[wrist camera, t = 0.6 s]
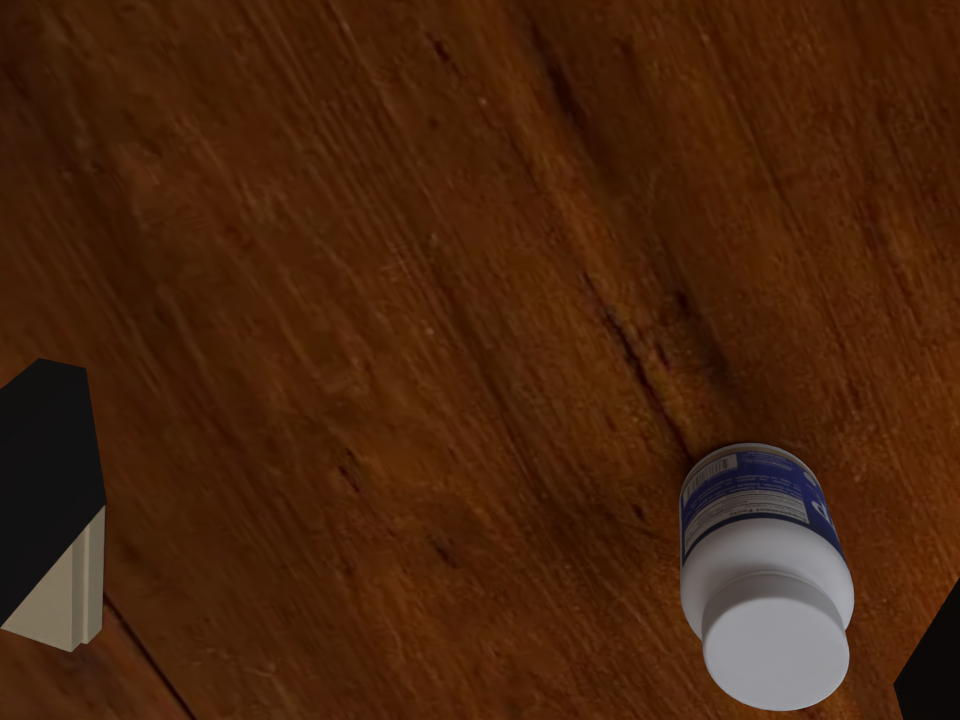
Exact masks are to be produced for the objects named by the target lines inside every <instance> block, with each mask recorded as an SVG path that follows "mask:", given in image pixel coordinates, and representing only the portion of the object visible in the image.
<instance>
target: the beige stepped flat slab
mask: <svg viewBox="0 0 960 720" xmlns="http://www.w3.org/2000/svg"><path fill="white" fill-rule="evenodd" d="M104 528H105V506H104V507H103V508H102V509H101V510H100V511H99V513H98V514H97V515H96V516H95V517H94V518H93V520H92V521H91V522H90V523H89V524H88V525H87V527H86V528H85V529H84V530H83V531H82V533H81V534H80V535H79V536H78V537H77V538H76V540H75V541H74V542H73V543H72V544H71V545H70V547H69V548H68V549H67V550H66V551H65V553H64V554H63V555H62V556H61V557H60V558H59V560H58V561H57V562H56V563H55V564H54V565H53V567H52V568H51V569H50V570H49V571H48V572H47V574H46V575H45V576H44V577H43V578H42V580H41V581H40V582H39V583H38V584H37V585H36V587H35V588H34V589H33V590H32V591H31V592H30V594H29V595H28V596H27V597H26V598H25V599H24V601H23V602H22V603H21V604H20V605H19V607H18V608H17V609H16V610H15V611H14V612H13V614H12V615H11V616H10V617H9V618H8V619H7V621H6V622H5V623H4V624H3V625H2V627H1V629H4V630H7V631H10V632H13V633H16V634H19V635H22V636H25V637H28V638H30V639H33V640H36V641H39V642H42V643H45V644H48V645H51V646H54V647H57V648H60V649H63V650H65V651H68V652H72V651H73V650H74V649H75V648H76V647H77V646H78V645H79V644H80V643H84V644H88V643H89V642H90V641H91V640H92V639H93V638H94V637H95V635H96V634H97V633H98V632H99V631H100V630H101V629H102V604H103V566H104Z"/></svg>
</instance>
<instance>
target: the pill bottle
mask: <svg viewBox="0 0 960 720" xmlns="http://www.w3.org/2000/svg"><path fill="white" fill-rule="evenodd" d="M679 521H680V594H681V602H682V607H683V611H684V614H685V616H686V619H687V621H688V623H689V625H690V626H691V628H692V630H693V631H694V632H695V634H696V635H697V636H698V637H699V639H700V640H701V641H702V647H703V655H704V660H705V664H706V667H707V669H708V671H709V673H710V675H711V677H712V678H713V679H714V681H715V682H716V683H717V684H718V685H719V687H720V688H721V689H722V690H724V691H725V692H726V693H727V694H729V695H730V696H731V697H733V698H735V699H736V700H738V701H740V702H742V703H744V704H747V705H750V706H752V707H756V708H760V709H765V710H773V711H788V710H796V709H801V708H805V707H808V706H811V705H813V704H816V703H818V702H820V701H821V700H823V699H825V698H826V697H828V696H829V695H830V694H832V693H833V692H834V691H835V690H836V689H837V687H838V686H839V685H840V684H841V682H842V681H843V679H844V677H845V675H846V672H847V669H848V664H849V648H848V643H847V639H846V634H845V630H846V628H847V626H848V624H849V621H850V619H851V615H852V612H853V606H854V590H853V584H852V580H851V576H850V572H849V569H848V566H847V563H846V560H845V558H844V555H843V552H842V549H841V546H840V543H839V540H838V537H837V534H836V531H835V528H834V525H833V522H832V519H831V516H830V514H829V510H828V507H827V504H826V501H825V498H824V495H823V492H822V489H821V487H820V485H819V482H818V481H817V479H816V477H815V476H814V474H813V473H812V471H811V470H810V469H809V468H808V467H807V466H806V465H805V464H804V463H803V462H802V461H801V460H799V459H798V458H797V457H795V456H794V455H792V454H790V453H789V452H787V451H785V450H782V449H780V448H777V447H774V446H770V445H766V444H759V443H741V444H734V445H730V446H726V447H723V448H721V449H718V450H716V451H714V452H712V453H710V454H709V455H707V456H706V457H704V458H703V459H701V460H700V461H699V462H698V463H697V464H696V465H695V466H694V467H693V468H692V470H691V471H690V472H689V474H688V475H687V477H686V479H685V481H684V483H683V486H682V489H681V493H680V499H679Z"/></svg>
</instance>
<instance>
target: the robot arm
mask: <svg viewBox="0 0 960 720" xmlns="http://www.w3.org/2000/svg"><path fill="white" fill-rule="evenodd" d="M106 503H107V501H106V495H105V489H104V482H103V476H102V469H101V463H100V457H99V450H98V444H97V437H96V431H95V425H94V418H93V412H92V405H91V399H90V393H89V386H88V380H87V373H86V368H82V367H78V366H73V365H68V364H64V363H59V362H54V361H50V360H45V359H40V358H39V359H37V360H36V361H35V362H34V363H32V364H31V365H30V366H29V367H28V368H26V369H25V370H24V371H23V372H21V373H20V374H19V375H18V376H16V377H15V378H14V379H13V380H12V381H10V382H9V383H8V384H7V385H5V386H4V387H3V388H2V389H0V628H1V627H2V625H3V624H4V623H5V622H6V621H7V619H8V618H9V617H10V616H11V615H12V614H13V612H14V611H15V610H16V609H17V608H18V607H19V605H20V604H21V603H22V602H23V601H24V599H25V598H26V597H27V596H28V595H29V594H30V592H31V591H32V590H33V589H34V588H35V587H36V585H37V584H38V583H39V582H40V581H41V580H42V578H43V577H44V576H45V575H46V574H47V572H48V571H49V570H50V569H51V568H52V567H53V565H54V564H55V563H56V562H57V561H58V560H59V558H60V557H61V556H62V555H63V554H64V553H65V551H66V550H67V549H68V548H69V547H70V545H71V544H72V543H73V542H74V541H75V540H76V538H77V537H78V536H79V535H80V534H81V533H82V531H83V530H84V529H85V528H86V527H87V525H88V524H89V523H90V522H91V521H92V520H93V518H94V517H95V516H96V515H97V514H98V513H99V511H100V510H101V509H102V508H103V507H104V506H105V504H106ZM894 688H895V692H896V695H897V699H898V702H899V706H900V709H901V713H902V716H903V720H960V578H959V579H958V581H957V583H956V584H955V586H954V587H953V589H952V591H951V592H950V594H949V595H948V597H947V599H946V600H945V602H944V604H943V605H942V607H941V608H940V610H939V612H938V613H937V615H936V616H935V618H934V620H933V621H932V623H931V624H930V626H929V628H928V629H927V631H926V633H925V634H924V636H923V637H922V639H921V641H920V642H919V644H918V645H917V647H916V649H915V650H914V652H913V653H912V655H911V657H910V658H909V660H908V662H907V663H906V665H905V666H904V668H903V670H902V671H901V673H900V674H899V676H898V678H897V679H896V681H895V682H894Z"/></svg>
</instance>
